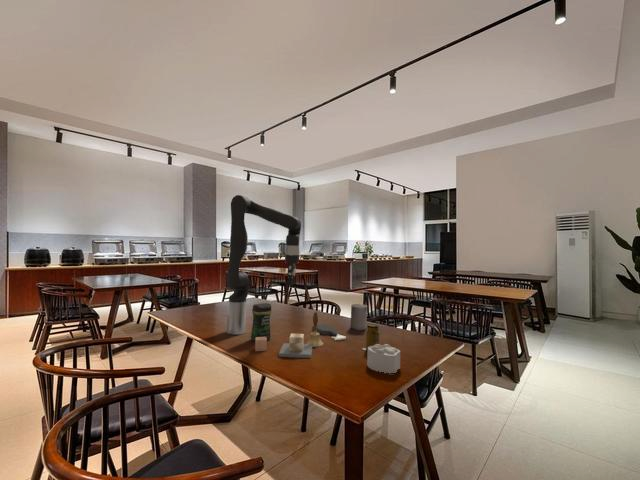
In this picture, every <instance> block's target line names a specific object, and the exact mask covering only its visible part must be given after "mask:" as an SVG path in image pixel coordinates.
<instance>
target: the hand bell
mask: <svg viewBox="0 0 640 480" xmlns="http://www.w3.org/2000/svg"><path fill="white" fill-rule="evenodd" d="M318 322H319V316H318V312H317V311H314V312H313V315H312V323H313V326H314V331H313V330H312V331H313V332H311V333H310V337H309V339H308V341H307V342H306V344H313V345H312V348H318V347H319V348H320V347H322V346H323V345H324V342H322V340H321V336H320V335H321V334H319V333H318V332H317V325H318Z"/></svg>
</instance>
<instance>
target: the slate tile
mask: <svg viewBox="0 0 640 480" xmlns="http://www.w3.org/2000/svg"><path fill="white" fill-rule="evenodd" d="M312 345H313V344H307V343H304V347H303V351H289V343H285V342H283V344H282V346H281V348H280V350H279V351H278V352H279V353H278V358H295V359H297V358H300V359H301V358H303V359H311V358H312V353H313V347H312Z"/></svg>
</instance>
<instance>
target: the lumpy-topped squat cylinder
mask: <svg viewBox="0 0 640 480" xmlns="http://www.w3.org/2000/svg"><path fill="white" fill-rule="evenodd" d="M366 357H367V359H366V360H367V361H366V362H367V363H366V366H367V368H369V369H370V370H372V371H374V370H375V371H374V372H378V371H379V373H381V372H384V373H383V374H386V373H389V374H388V375H391V374H390V373H396V372H398V371H399V370H398V369H401V350H400V349H398V348H396V347H392V346H391V345H390V344H387V343H385V344H376V345H374V346H370V347H368V352H367V356H366ZM397 370H398V371H397ZM396 374H397V373H396Z"/></svg>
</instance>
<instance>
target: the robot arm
mask: <svg viewBox="0 0 640 480" xmlns="http://www.w3.org/2000/svg"><path fill="white" fill-rule="evenodd" d="M232 197H233V198H232V199H231V201H230V216H231V218H230V219H231V223H230V240H229V257H228V265H227V272H226V273H227V274H226V285H227V288H228V289H230V290H232V291H233V290H234V291H233V293H232V294H231V295H229V297H228V315H227V316H226V334H228V335H235V336H237V335H242V334H245V333H246V320H247V319H246V316H247V315H246V314H247V313H246V312H247V297H248V295H249V286H250V285H249V284H250V281H249V280H250V279H249V275H248V274H247V272H245V271H240V266H241V262H242V260H243V258H244V257H245V254H246V252H247V250H248V240H249V239H248V232H247V228H246V225H245V215H246V214H249V215H253V216H256V217H259V218H260V219H263V220H265V221H266V222H267V221H268V222H269V223H272V224H275V225H277V226H278V225H279V226H281V227H283V228H285V229H288V232H287V235H286V237H285V238H286V239H285V247H284V248H285V251H284V252H285V253H284V263H286V264H288V265H287V275H286V276H287V280H288V281H287V285H288V286H291V287H292V286H293V284H295V277H296V271H297V269H296V268H297V266H296V264H299V263H300V236H301V235H300V234H301V228H302V223H301V222H302V221H301V220H300V218H298V217H296V216H293V215H289V214H286V213H284V212H282V211H279V210H276V209H274V208H270V207H267V206H263V205H261V204H259V203H256V202H254V201H253V200H251V199H249V198H248V197H247V196H244V195H241V194H237V195H235V196H232Z"/></svg>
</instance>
